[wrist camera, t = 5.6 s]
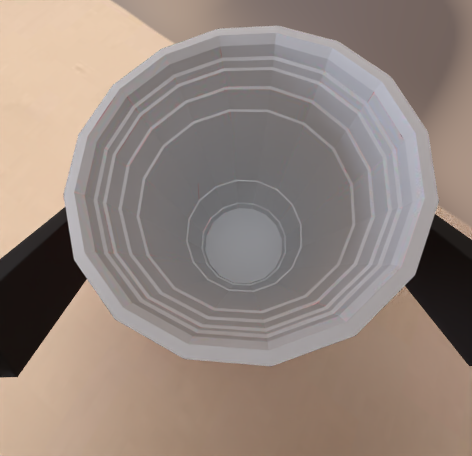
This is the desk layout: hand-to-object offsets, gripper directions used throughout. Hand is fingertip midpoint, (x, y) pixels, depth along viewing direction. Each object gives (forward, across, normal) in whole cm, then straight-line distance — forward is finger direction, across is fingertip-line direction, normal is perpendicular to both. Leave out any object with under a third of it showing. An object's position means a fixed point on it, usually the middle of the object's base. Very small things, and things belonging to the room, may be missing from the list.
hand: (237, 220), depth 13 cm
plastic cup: (+5, 0, -5) cm, 7 cm away
